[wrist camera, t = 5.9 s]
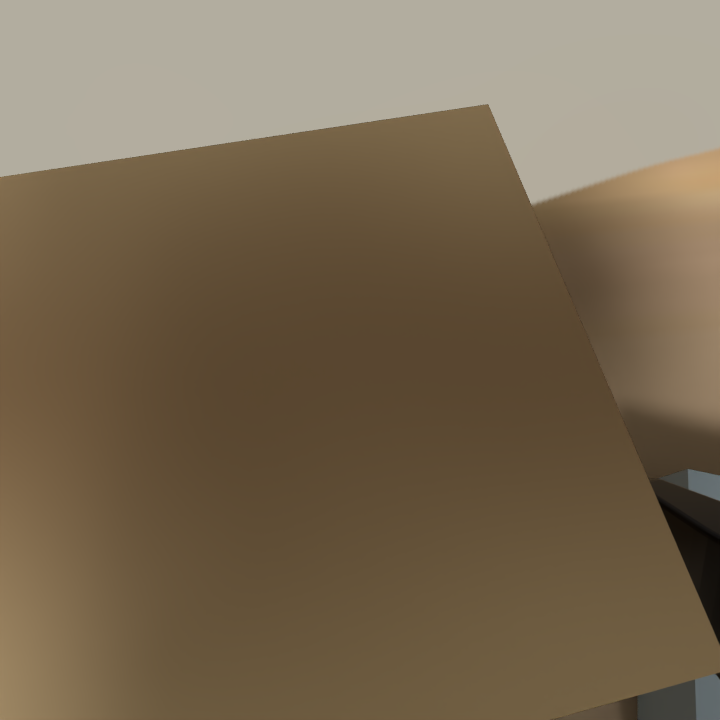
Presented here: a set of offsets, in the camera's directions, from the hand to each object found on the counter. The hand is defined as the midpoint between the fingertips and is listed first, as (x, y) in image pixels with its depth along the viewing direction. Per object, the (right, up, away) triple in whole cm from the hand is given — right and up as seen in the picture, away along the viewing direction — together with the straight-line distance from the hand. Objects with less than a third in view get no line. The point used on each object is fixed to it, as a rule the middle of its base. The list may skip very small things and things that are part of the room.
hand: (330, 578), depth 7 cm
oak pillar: (0, -2, +9) cm, 9 cm away
